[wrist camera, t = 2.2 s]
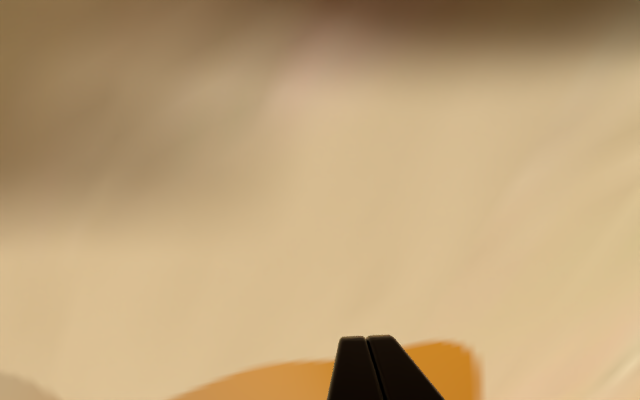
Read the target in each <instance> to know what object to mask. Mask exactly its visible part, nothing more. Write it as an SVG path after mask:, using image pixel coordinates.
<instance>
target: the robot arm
mask: <svg viewBox="0 0 640 400" xmlns="http://www.w3.org/2000/svg"><path fill="white" fill-rule="evenodd" d="M327 400H445V399H444V398H443V397H442V396H441V394H440V393H439V392H438V391H437V389H436V388H435V387H434V386H433V385H432V383H431V382H430V381H429V380H428V379H427V377H426V376H425V375H424V374H423V372H422V371H421V370H420V369H419V367H418V366H417V365H416V364H415V363H414V361H413V360H412V359H411V358H410V356H409V355H408V354H407V353H406V352H405V350H404V349H403V348H402V347H401V345H400V344H399V343H398V342H397V341H396V339H395V338H394V337H392V336H390V335H373V336H368V337H367V338H366V339H365V337H363V336H349V337H342V338H340V340H339V344H338V349H337V354H336V358H335V363H334V368H333V373H332V378H331V382H330V387H329V393H328V397H327Z"/></svg>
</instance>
